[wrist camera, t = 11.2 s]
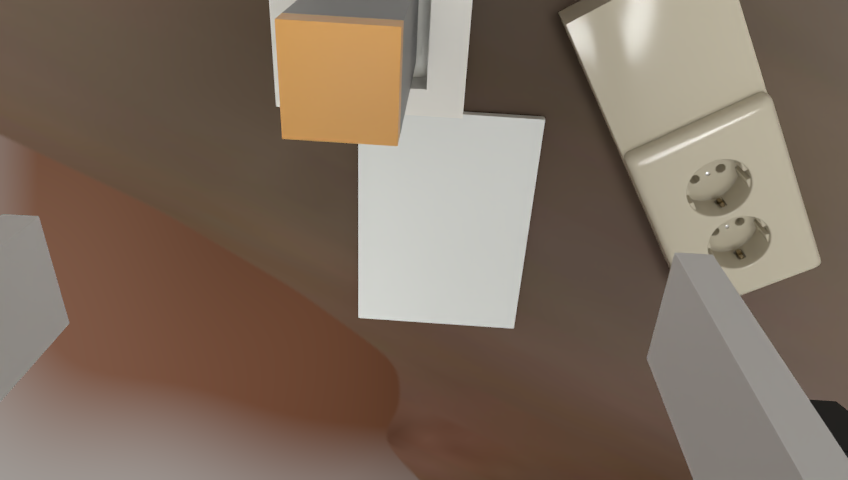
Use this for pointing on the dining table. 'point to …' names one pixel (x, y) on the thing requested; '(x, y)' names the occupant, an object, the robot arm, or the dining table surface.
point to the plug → (346, 69)
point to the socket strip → (424, 57)
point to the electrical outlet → (696, 132)
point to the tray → (447, 219)
